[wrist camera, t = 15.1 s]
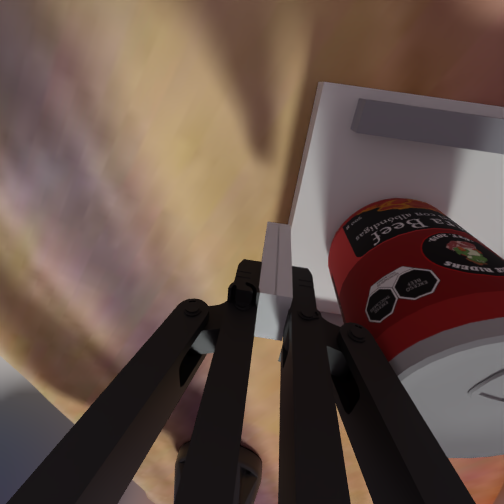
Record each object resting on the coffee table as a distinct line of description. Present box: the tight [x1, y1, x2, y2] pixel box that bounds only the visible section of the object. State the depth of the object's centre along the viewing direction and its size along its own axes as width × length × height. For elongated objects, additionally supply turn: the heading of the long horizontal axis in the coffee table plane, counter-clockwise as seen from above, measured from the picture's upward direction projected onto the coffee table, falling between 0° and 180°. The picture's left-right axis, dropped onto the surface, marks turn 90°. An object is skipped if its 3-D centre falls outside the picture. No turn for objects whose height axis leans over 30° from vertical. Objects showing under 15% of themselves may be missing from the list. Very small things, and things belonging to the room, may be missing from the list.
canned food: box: [328, 198, 504, 458], centre depth 14 cm, size 8×8×11 cm
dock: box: [288, 82, 504, 327], centre depth 17 cm, size 18×18×9 cm
